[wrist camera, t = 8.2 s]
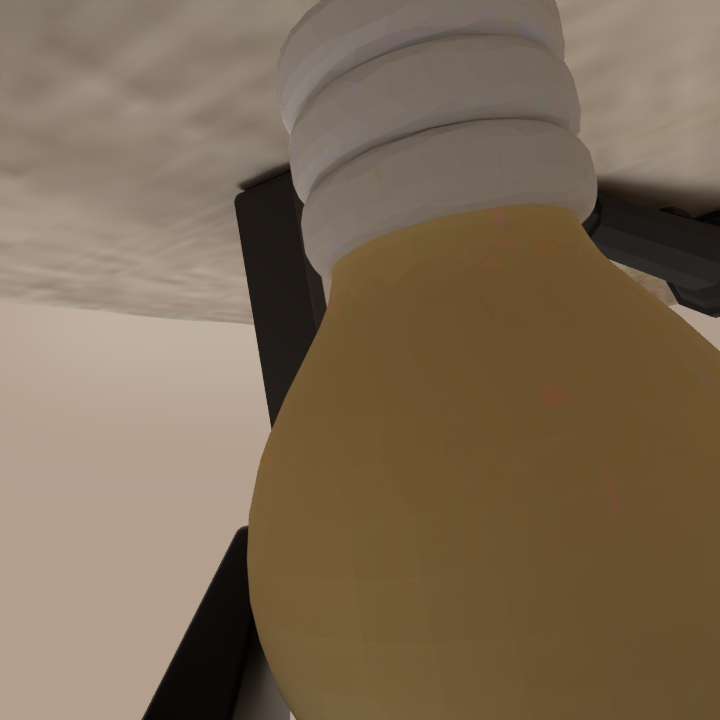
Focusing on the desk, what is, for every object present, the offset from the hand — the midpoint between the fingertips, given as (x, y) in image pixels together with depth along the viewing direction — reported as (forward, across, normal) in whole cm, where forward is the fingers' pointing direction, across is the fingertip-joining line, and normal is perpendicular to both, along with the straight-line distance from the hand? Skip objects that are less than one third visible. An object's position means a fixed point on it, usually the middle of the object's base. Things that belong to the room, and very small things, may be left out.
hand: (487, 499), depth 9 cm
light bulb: (+4, 0, -6) cm, 7 cm away
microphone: (+20, -13, +7) cm, 25 cm away
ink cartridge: (+14, +2, +1) cm, 14 cm away
